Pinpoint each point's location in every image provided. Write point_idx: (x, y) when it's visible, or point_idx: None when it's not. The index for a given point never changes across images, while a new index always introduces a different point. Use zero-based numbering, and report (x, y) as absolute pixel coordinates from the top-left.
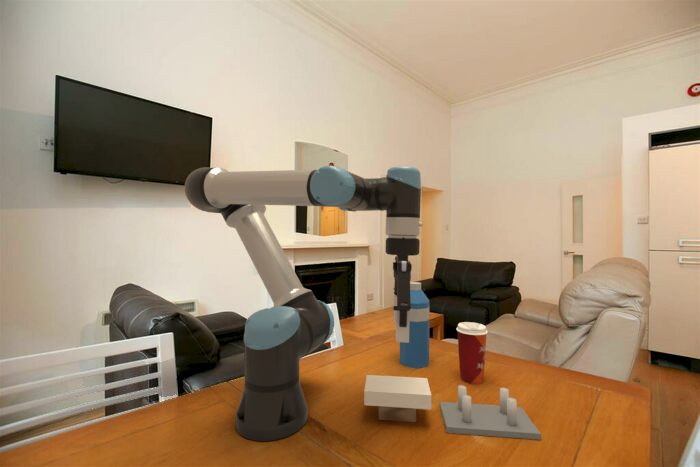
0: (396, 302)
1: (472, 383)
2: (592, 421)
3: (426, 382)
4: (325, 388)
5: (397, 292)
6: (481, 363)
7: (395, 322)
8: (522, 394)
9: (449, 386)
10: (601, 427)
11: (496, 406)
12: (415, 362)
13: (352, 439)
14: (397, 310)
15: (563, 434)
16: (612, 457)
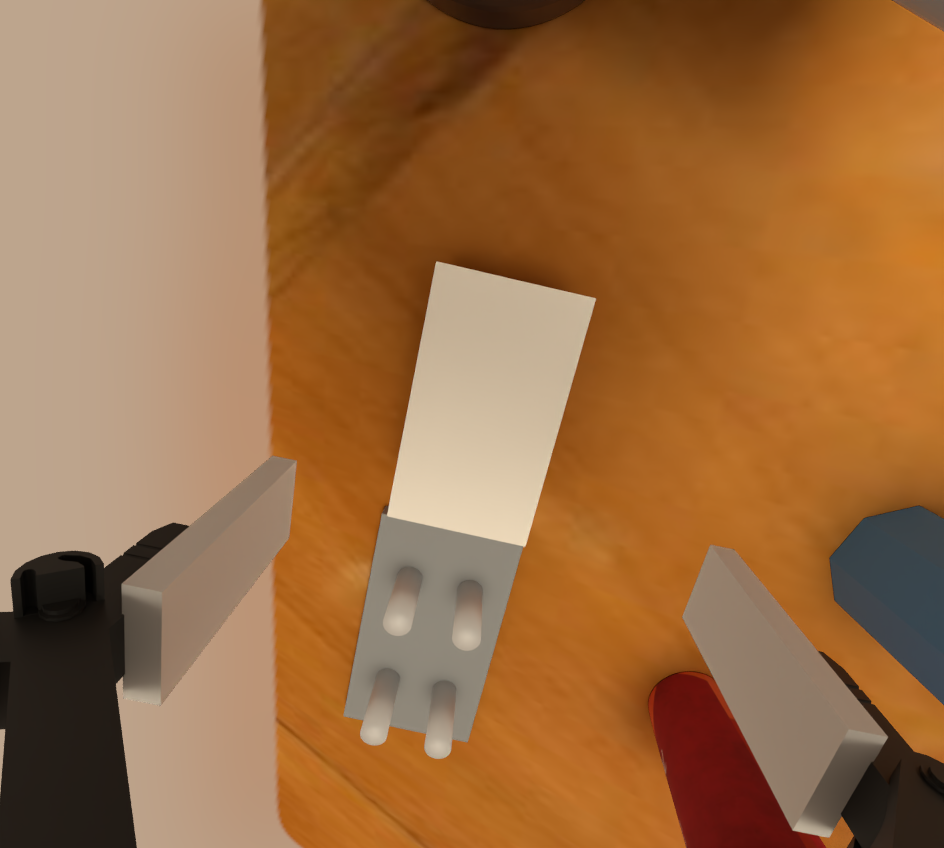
0: (792, 692)
1: (652, 691)
2: (414, 844)
3: (488, 532)
4: (742, 115)
5: (6, 783)
6: (667, 780)
7: (707, 560)
8: (560, 783)
9: (650, 615)
10: (390, 844)
11: (476, 686)
12: (851, 565)
13: (366, 211)
14: (123, 592)
15: (367, 759)
16: (288, 790)
